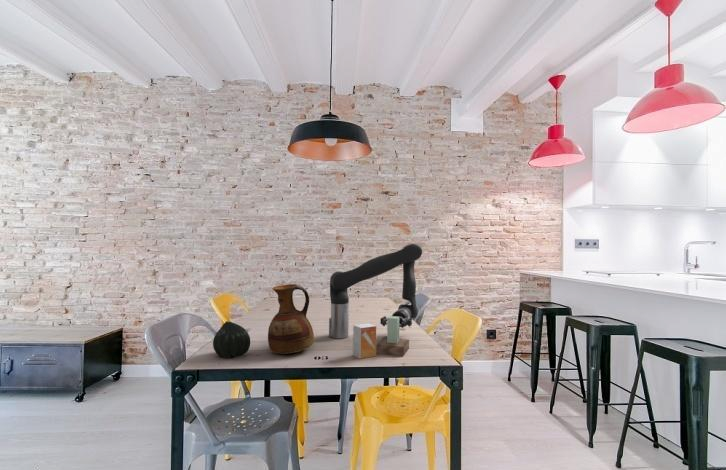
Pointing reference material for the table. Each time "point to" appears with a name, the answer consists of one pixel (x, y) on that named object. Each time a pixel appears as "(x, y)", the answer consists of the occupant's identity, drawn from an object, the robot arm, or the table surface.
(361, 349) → the small box
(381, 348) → the walnut base block
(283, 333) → the ceramic pitcher
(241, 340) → the squash
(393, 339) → the sage block
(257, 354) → the table surface
